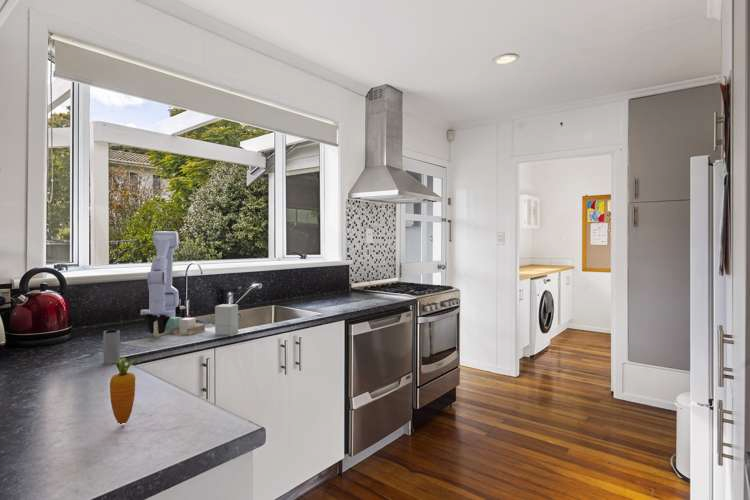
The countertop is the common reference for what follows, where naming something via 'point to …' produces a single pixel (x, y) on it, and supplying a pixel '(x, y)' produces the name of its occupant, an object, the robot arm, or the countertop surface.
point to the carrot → (122, 391)
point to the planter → (111, 346)
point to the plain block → (186, 324)
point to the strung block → (167, 326)
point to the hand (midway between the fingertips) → (157, 333)
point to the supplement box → (226, 319)
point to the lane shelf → (190, 330)
